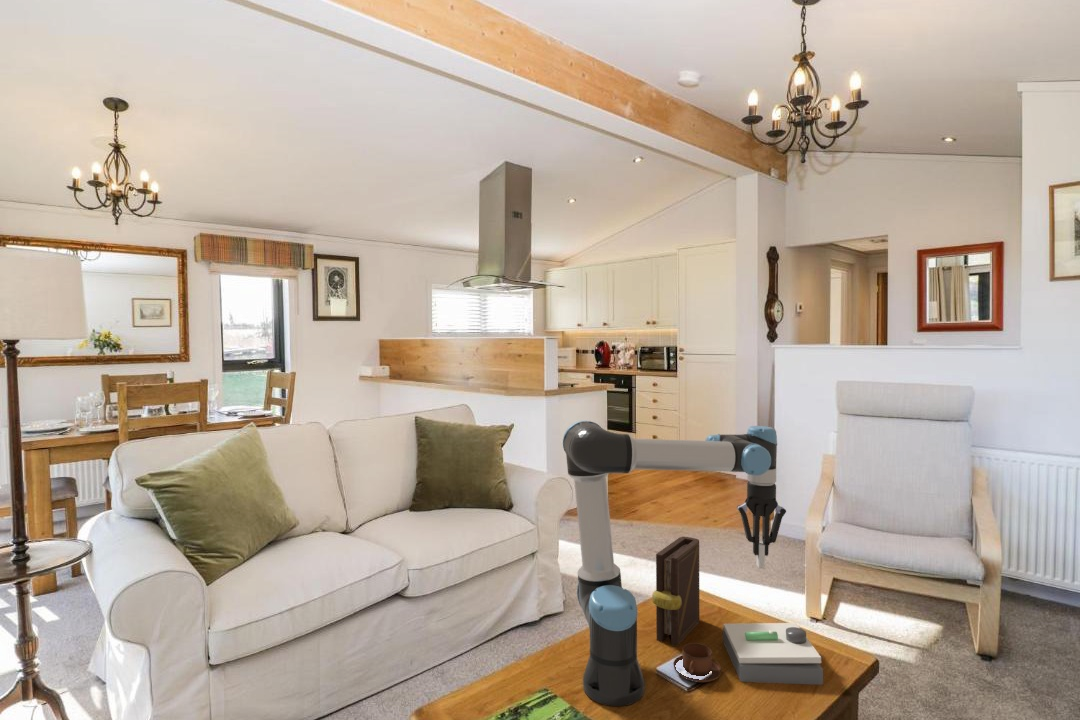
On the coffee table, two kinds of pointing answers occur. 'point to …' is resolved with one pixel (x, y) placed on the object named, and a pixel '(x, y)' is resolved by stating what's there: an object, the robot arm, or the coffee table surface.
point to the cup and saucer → (699, 662)
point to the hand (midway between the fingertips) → (760, 566)
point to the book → (677, 589)
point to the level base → (775, 670)
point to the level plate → (770, 643)
